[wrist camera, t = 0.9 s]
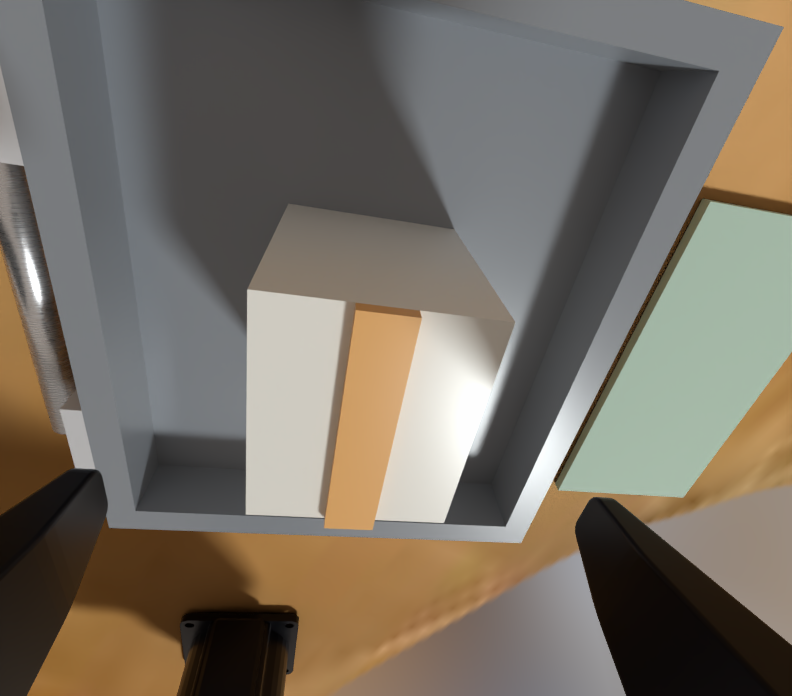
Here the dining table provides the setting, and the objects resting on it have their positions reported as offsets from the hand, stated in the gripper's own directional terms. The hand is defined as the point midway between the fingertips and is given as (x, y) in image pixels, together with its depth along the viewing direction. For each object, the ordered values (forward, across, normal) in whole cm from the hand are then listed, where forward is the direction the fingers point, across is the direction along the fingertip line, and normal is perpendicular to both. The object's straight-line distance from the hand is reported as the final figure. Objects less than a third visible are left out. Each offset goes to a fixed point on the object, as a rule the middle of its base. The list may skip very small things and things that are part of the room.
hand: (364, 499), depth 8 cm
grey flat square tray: (+9, 0, 0) cm, 9 cm away
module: (+8, 0, 0) cm, 8 cm away
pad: (+9, -14, +2) cm, 17 cm away
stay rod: (+9, +10, 0) cm, 14 cm away
